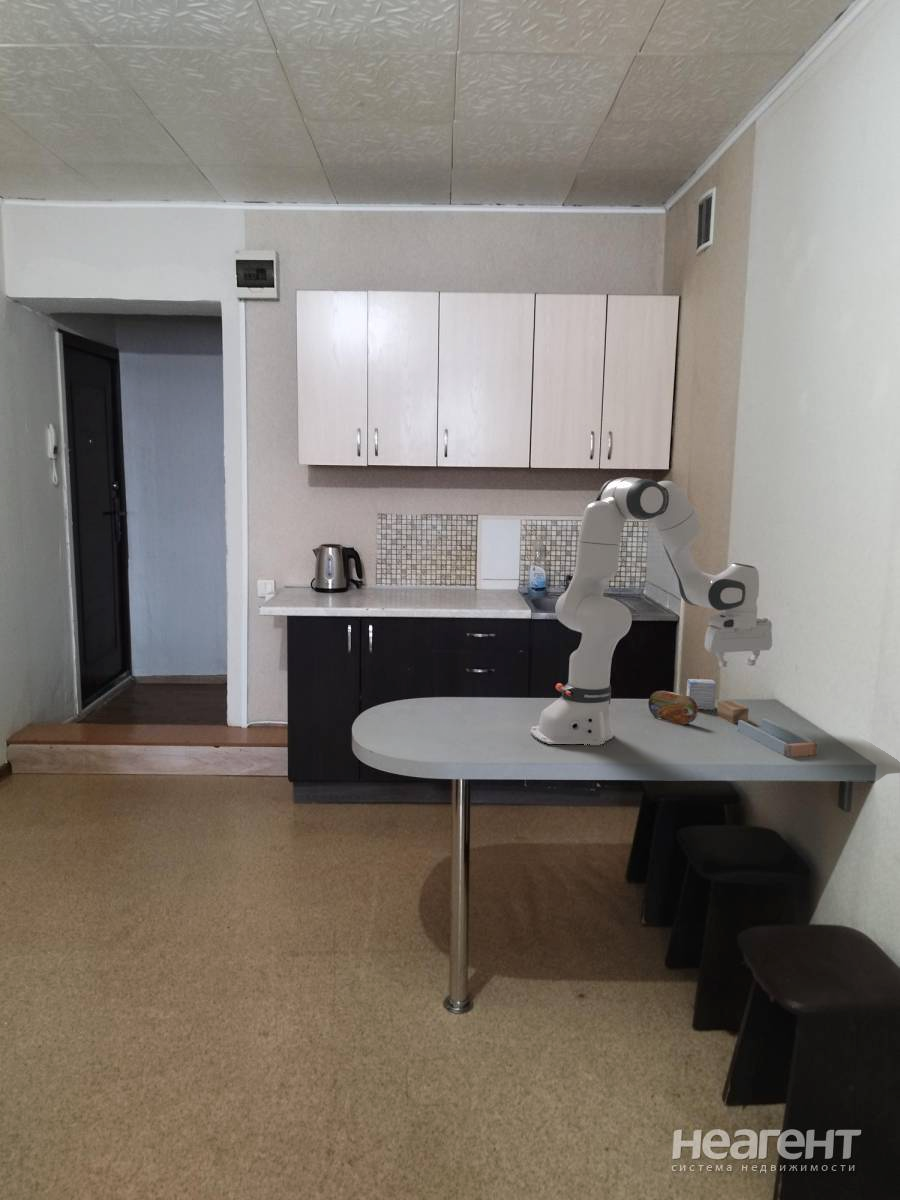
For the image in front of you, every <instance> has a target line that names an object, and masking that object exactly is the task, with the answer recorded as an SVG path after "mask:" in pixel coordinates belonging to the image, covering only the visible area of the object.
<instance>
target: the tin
mask: <svg viewBox="0 0 900 1200" xmlns="http://www.w3.org/2000/svg"><path fill="white" fill-rule="evenodd" d="M686 695H687V694H685V695H684V694H681V693H676V692H673V691H672V692H671V691H667V690H657V691H654V692H653V693H651V695H650V696H649V699H648V702H647V703H648V709H649V712H650V713H651V715H652V716H653V717H654V718H656V717H658V718H661V719H663V720H662V721H665V720H667V721H666V722H669V721H670V723H674V724H678V725H687V724H690V723H693V722H694V721H695V720H696V719H697V717H698V713H699V709H698V707H697V704H696V702H695V701H694V700H693V699H692V698H691V697H689V696H686ZM658 718H657V719H658ZM661 719H660V720H661Z"/></svg>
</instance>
